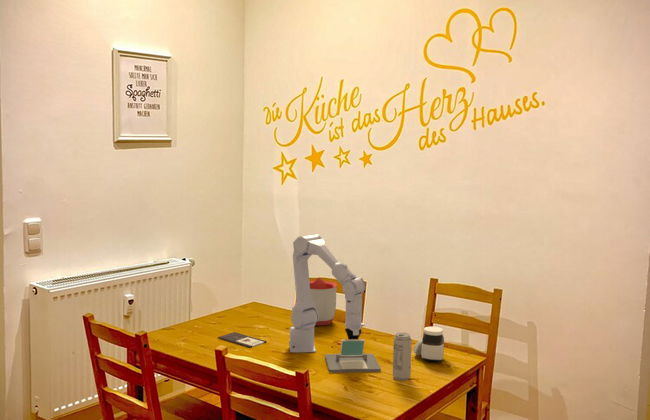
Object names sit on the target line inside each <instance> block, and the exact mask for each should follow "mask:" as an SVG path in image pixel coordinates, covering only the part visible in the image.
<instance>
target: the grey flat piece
mask: <svg viewBox="0 0 650 420" xmlns="http://www.w3.org/2000/svg"><path fill="white" fill-rule="evenodd" d="M324 359H325V362H326V366H327V369H328V373H335V374H336V373H380V372H381V371H382V368H381V366H380V365H379V362H378V361H377V358H376V357H375V354H374V353H363V355H341V353H335V354H333V353H329V354H326V353H325V354H324Z"/></svg>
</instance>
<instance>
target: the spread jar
mask: <svg viewBox="0 0 650 420" xmlns="http://www.w3.org/2000/svg"><path fill="white" fill-rule="evenodd" d="M444 350H445V338H444V329H443V328H442V327H438V326H427V327H426V326H425V327H424V329H423V335H422V337H421V338H419V339H418V340H417V341H416V342H415V345H414V346H413V351H412V352H413V353H414V354H416V356H420V355H421V359H422V361H424V362H425V363H428V364H438V363H441V362H443V360H444V353H445V351H444Z"/></svg>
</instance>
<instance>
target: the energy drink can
mask: <svg viewBox="0 0 650 420" xmlns="http://www.w3.org/2000/svg"><path fill="white" fill-rule="evenodd" d="M412 341H413V339H412V338H411V334H410V333H407V332H396V333H395V336H394V338H393V349H392V350H393V351H392V353H393V354H392V376H393V377H394V379H395V380H397V381H403V382H404V381H408V380H409V379H410V377H411V372H412V371H411V369H412V368H411V367H412Z"/></svg>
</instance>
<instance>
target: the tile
mask: <svg viewBox="0 0 650 420" xmlns="http://www.w3.org/2000/svg"><path fill="white" fill-rule="evenodd" d="M340 344H341V345H340V354H341V355H363V354H364V347H365V339H364V338H363V339H362V338H361V339H360V338H358V339H348V338H346V339H341V343H340Z"/></svg>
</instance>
